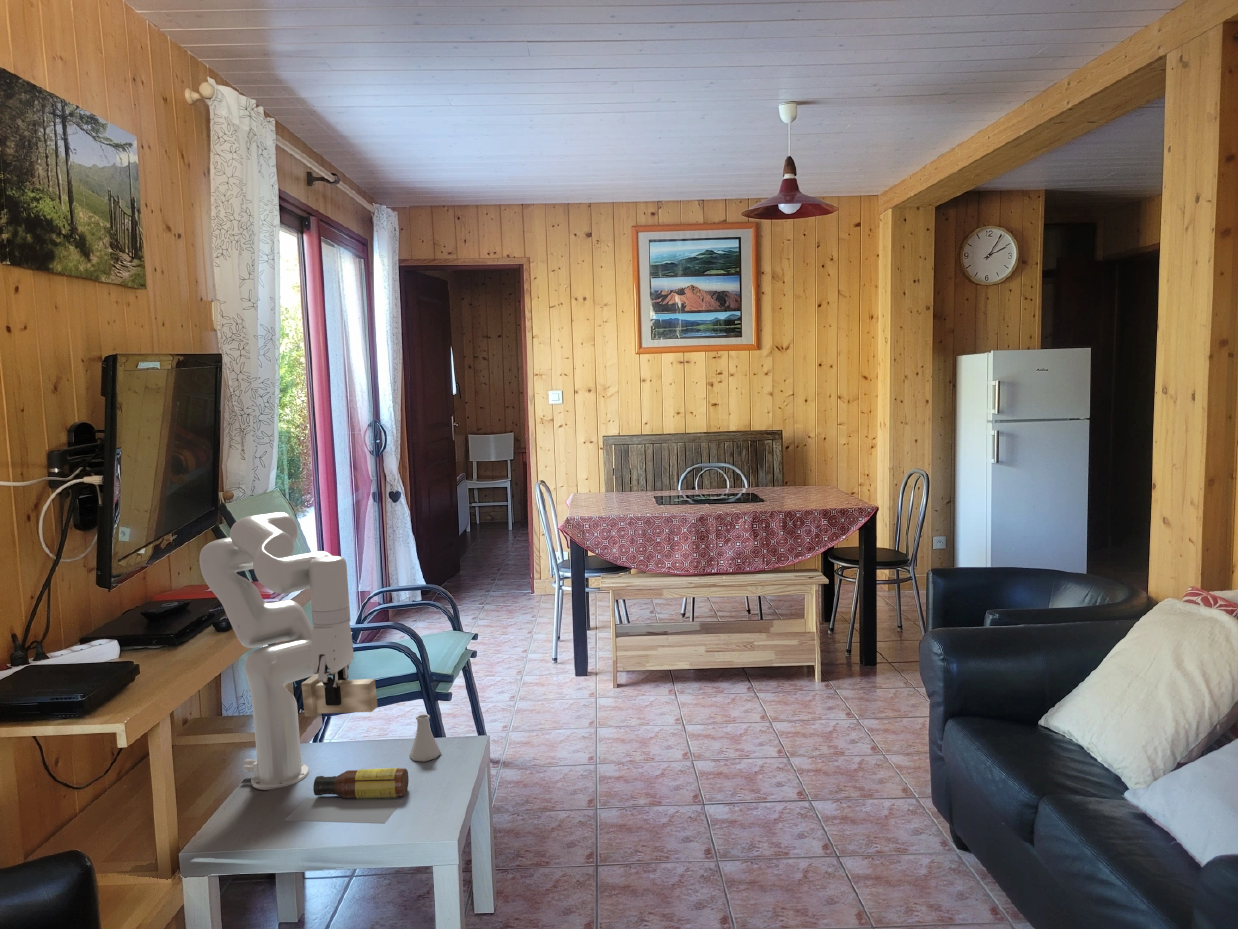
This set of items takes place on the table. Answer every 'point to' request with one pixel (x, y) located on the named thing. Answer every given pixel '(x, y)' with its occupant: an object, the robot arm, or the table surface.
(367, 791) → the sauce bottle
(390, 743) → the table surface
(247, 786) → the table surface
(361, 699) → the beige t-shaped block
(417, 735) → the flask
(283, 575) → the robot arm
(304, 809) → the mat
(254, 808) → the table surface
